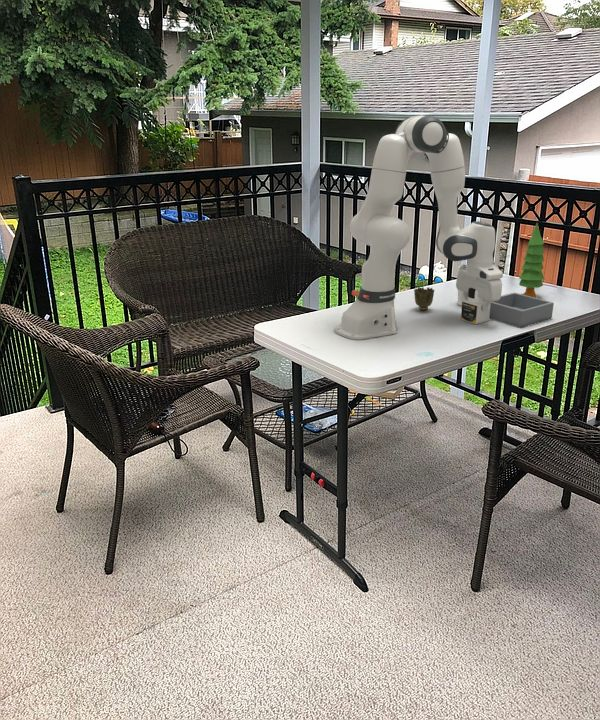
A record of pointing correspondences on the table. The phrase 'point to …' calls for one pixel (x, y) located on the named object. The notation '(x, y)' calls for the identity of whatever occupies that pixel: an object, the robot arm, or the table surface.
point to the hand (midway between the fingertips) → (476, 307)
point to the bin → (520, 310)
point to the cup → (423, 297)
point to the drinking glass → (460, 294)
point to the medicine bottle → (474, 308)
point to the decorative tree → (533, 264)
